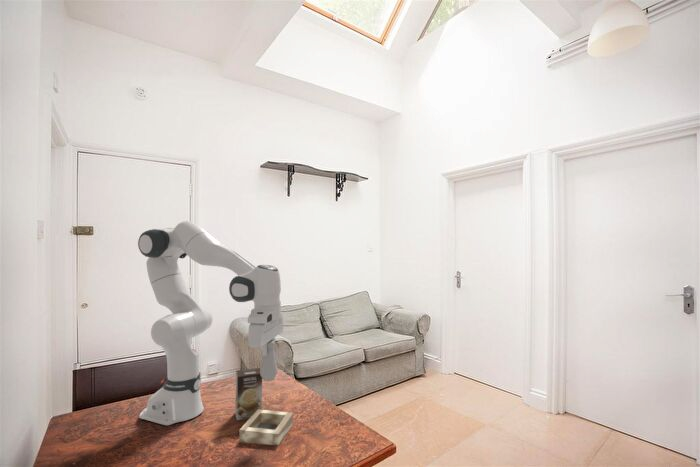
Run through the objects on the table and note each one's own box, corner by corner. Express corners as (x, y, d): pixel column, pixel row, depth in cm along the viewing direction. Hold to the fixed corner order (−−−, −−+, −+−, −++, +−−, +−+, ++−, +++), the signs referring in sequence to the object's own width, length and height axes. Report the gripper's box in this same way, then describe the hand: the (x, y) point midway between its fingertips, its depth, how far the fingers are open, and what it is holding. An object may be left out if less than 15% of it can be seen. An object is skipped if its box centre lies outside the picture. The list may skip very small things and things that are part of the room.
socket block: (239, 442, 112) (239, 429, 112) (257, 420, 125) (257, 409, 126) (278, 446, 110) (278, 434, 110) (293, 424, 123) (293, 412, 123)
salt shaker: (273, 383, 114) (273, 343, 114) (257, 381, 115) (257, 342, 115) (279, 376, 120) (279, 338, 120) (264, 374, 121) (264, 337, 121)
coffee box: (236, 421, 125) (236, 376, 125) (235, 412, 131) (235, 370, 131) (262, 416, 128) (262, 373, 129) (259, 408, 134) (260, 367, 134)
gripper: (271, 306, 129) (271, 343, 129) (244, 319, 109) (244, 363, 109) (287, 306, 128) (287, 344, 128) (263, 320, 107) (263, 364, 107)
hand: (267, 353), depth 118 cm, fingers closed on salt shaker, 3 cm apart
